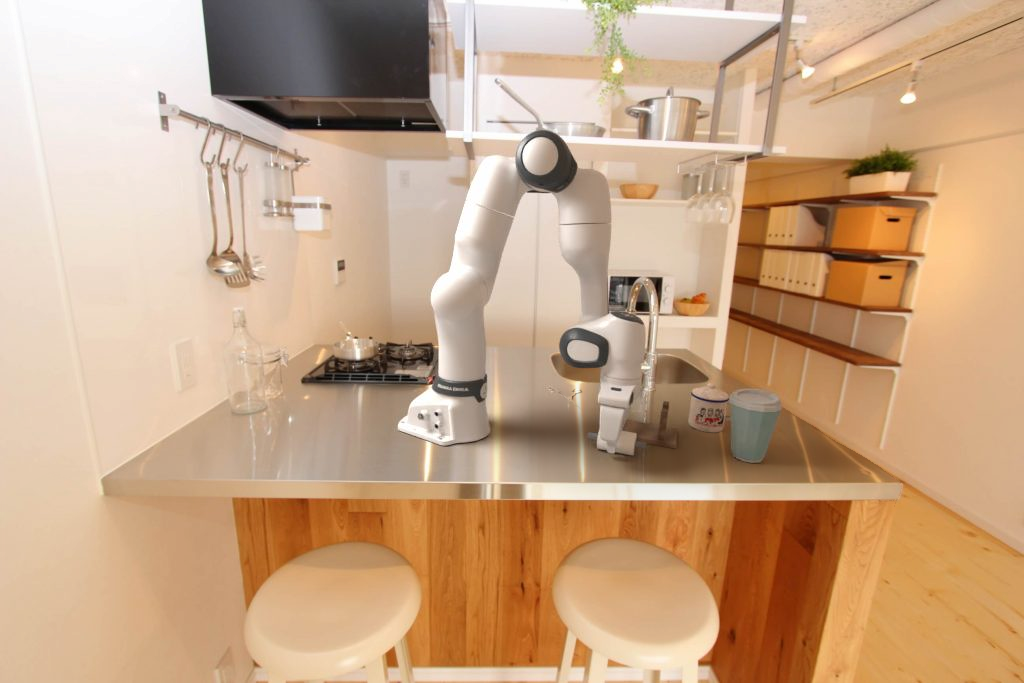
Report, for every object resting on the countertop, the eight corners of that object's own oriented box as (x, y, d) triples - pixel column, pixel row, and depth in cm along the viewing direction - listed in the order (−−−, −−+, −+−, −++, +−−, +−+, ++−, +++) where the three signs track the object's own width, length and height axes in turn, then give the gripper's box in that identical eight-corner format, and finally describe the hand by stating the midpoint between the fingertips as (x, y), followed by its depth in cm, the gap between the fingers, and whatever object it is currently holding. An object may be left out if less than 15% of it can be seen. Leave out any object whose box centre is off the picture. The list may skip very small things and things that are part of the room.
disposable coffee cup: (747, 471, 101) (759, 404, 98) (709, 449, 111) (718, 388, 108) (783, 463, 105) (795, 399, 102) (743, 443, 115) (753, 384, 112)
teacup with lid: (691, 431, 121) (697, 388, 118) (683, 418, 129) (688, 377, 127) (741, 435, 119) (748, 391, 117) (729, 421, 128) (735, 380, 125)
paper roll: (586, 450, 110) (585, 438, 107) (591, 432, 113) (590, 420, 110) (644, 462, 106) (645, 450, 102) (647, 443, 109) (648, 430, 105)
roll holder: (598, 434, 117) (601, 403, 115) (606, 419, 126) (608, 390, 124) (675, 448, 111) (679, 416, 109) (677, 432, 120) (681, 402, 118)
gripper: (613, 371, 115) (608, 425, 118) (596, 398, 96) (591, 460, 99) (640, 375, 113) (634, 430, 116) (628, 403, 94) (621, 467, 97)
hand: (614, 444), depth 107 cm, fingers open, 6 cm apart
